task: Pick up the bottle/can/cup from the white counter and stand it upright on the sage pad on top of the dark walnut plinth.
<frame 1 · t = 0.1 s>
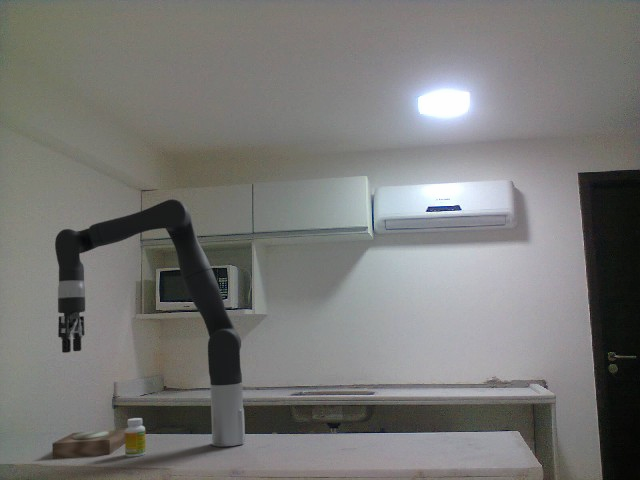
hand: (72, 351, 179), 29 cm above the kitchen counter, fingers open, 8 cm apart
supplement bottle: (135, 455, 170), on the kitchen counter
plinth: (90, 450, 180), on the kitchen counter
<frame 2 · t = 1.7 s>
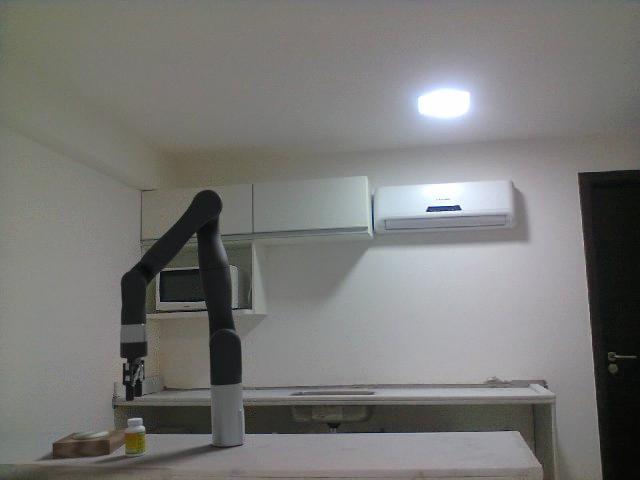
hand: (134, 398, 172), 15 cm above the kitchen counter, fingers open, 8 cm apart
nothing on the kitchen counter moved.
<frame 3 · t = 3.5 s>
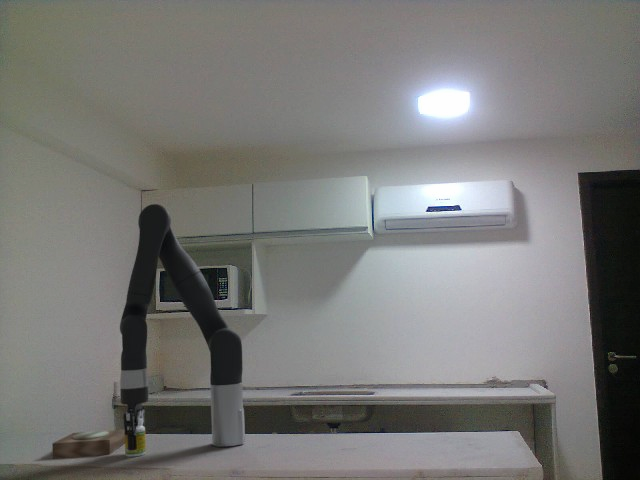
hand: (135, 447, 170), 2 cm above the kitchen counter, fingers closed on supplement bottle, 5 cm apart
supplement bottle: (135, 455, 170), on the kitchen counter, touching gripper
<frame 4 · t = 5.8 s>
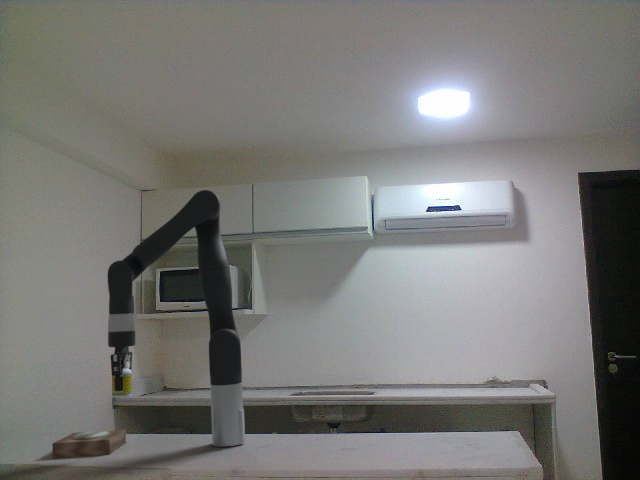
hand: (121, 389, 174), 18 cm above the kitchen counter, fingers closed on supplement bottle, 5 cm apart
supplement bottle: (121, 397, 174), point 16 cm above the kitchen counter, touching gripper
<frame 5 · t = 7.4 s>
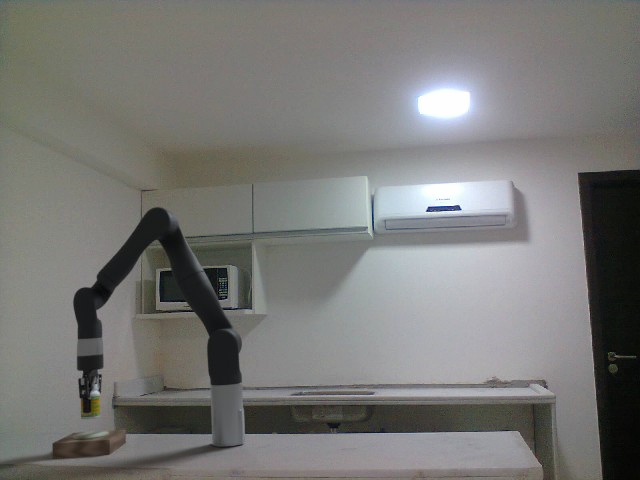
hand: (90, 411, 181), 11 cm above the kitchen counter, fingers closed on supplement bottle, 5 cm apart
supplement bottle: (90, 418, 181), point 9 cm above the kitchen counter, touching gripper
when the fingers open (8 cm above the kitchen counter, at t = 8.5 s): supplement bottle drops 1 cm, resting on plinth.
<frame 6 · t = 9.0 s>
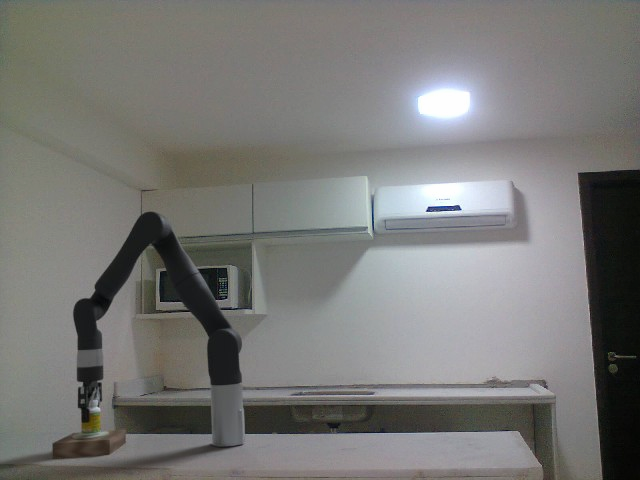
hand: (90, 420, 181), 9 cm above the kitchen counter, fingers open, 8 cm apart
supplement bottle: (91, 434, 181), point 4 cm above the kitchen counter, touching plinth
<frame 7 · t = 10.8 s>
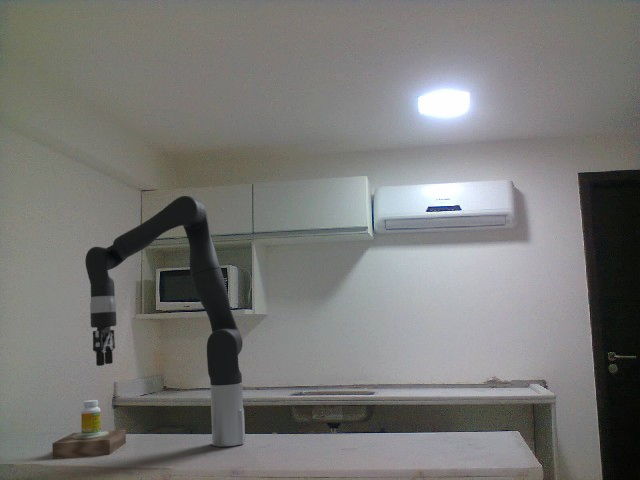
hand: (104, 364, 186), 24 cm above the kitchen counter, fingers open, 8 cm apart
nothing on the kitchen counter moved.
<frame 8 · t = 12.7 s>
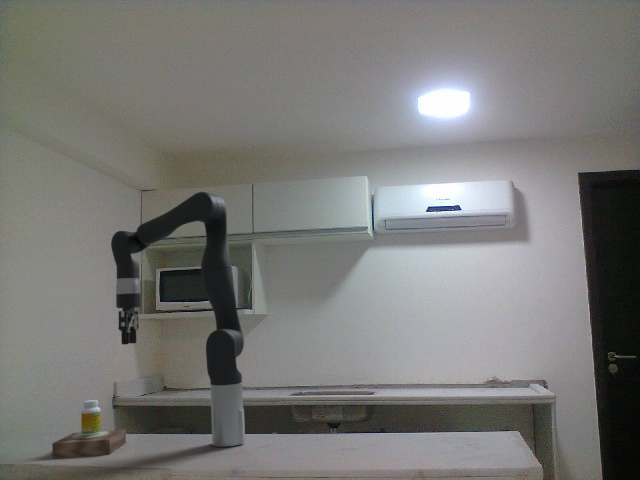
hand: (129, 343, 194), 30 cm above the kitchen counter, fingers open, 8 cm apart
nothing on the kitchen counter moved.
at the end: supplement bottle inside the target area on the plinth (0.1 cm from its centre), point 4.3 cm above the plinth's base; supplement bottle tilted 0°; the gripper is holding nothing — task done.
